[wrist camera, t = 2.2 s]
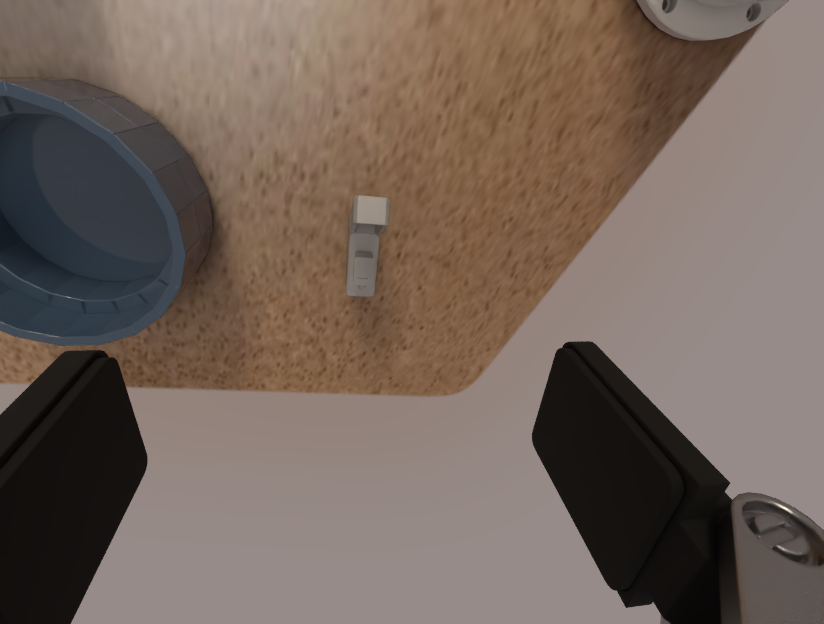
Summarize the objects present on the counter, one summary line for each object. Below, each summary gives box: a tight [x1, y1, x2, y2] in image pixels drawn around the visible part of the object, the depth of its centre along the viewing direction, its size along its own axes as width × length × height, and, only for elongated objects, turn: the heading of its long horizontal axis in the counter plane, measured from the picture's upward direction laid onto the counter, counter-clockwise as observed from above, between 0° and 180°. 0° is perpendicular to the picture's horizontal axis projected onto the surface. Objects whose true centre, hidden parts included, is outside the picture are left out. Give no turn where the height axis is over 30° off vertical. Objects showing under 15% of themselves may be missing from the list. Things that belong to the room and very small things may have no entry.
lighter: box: [346, 195, 390, 297], centre depth 25 cm, size 7×2×8 cm, turn 173°
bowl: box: [0, 77, 213, 346], centre depth 23 cm, size 13×13×6 cm
